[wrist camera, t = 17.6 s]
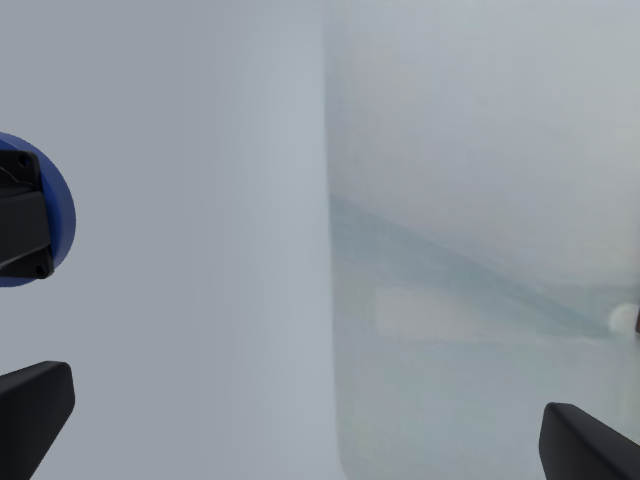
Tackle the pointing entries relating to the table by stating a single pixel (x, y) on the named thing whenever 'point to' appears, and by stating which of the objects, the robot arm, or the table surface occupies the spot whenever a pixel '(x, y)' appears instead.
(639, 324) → the block line
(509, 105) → the table surface
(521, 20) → the table surface
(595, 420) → the robot arm
